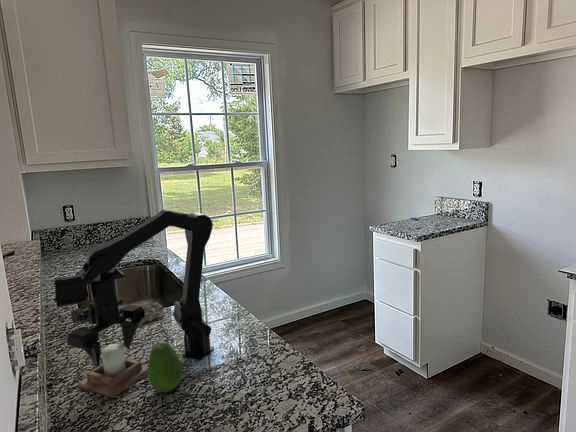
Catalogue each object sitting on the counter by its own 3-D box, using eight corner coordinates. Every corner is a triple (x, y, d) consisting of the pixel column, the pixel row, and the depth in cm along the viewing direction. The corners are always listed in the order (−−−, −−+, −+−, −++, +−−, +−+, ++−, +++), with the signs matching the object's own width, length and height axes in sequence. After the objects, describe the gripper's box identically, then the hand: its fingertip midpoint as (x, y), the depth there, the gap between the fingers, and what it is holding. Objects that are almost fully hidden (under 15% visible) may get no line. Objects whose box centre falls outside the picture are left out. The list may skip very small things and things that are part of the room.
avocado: (144, 390, 94) (139, 344, 92) (174, 376, 99) (169, 332, 97) (160, 405, 88) (154, 356, 86) (191, 389, 94) (186, 342, 92)
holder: (151, 370, 102) (149, 360, 102) (113, 397, 92) (112, 386, 91) (117, 361, 108) (116, 351, 107) (78, 386, 97) (76, 375, 96)
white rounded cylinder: (131, 371, 101) (127, 345, 100) (114, 382, 96) (111, 355, 95) (116, 367, 103) (113, 342, 102) (100, 377, 98) (96, 351, 97)
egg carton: (134, 326, 129) (133, 315, 129) (128, 319, 135) (126, 308, 134) (166, 317, 136) (165, 306, 135) (159, 310, 142) (157, 299, 141)
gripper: (112, 281, 108) (119, 334, 110) (46, 307, 91) (56, 369, 94) (143, 286, 103) (149, 341, 106) (79, 314, 86) (88, 379, 89)
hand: (112, 356), depth 99 cm, fingers open, 9 cm apart
